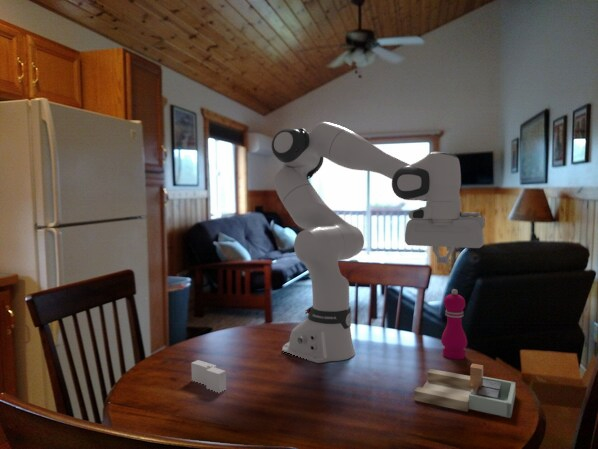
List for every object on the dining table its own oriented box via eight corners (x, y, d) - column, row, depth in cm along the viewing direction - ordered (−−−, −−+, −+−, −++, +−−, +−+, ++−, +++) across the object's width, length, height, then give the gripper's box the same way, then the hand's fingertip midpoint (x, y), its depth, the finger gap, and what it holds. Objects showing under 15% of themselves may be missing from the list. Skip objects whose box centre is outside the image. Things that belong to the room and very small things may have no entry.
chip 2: (477, 406, 95) (477, 393, 95) (479, 399, 99) (479, 386, 99) (496, 411, 93) (497, 397, 93) (498, 403, 97) (499, 390, 97)
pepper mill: (469, 361, 125) (469, 292, 123) (442, 359, 126) (443, 291, 125) (464, 352, 132) (465, 286, 130) (439, 350, 133) (440, 286, 132)
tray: (468, 413, 95) (468, 395, 95) (477, 391, 105) (477, 375, 105) (510, 422, 91) (511, 403, 90) (515, 399, 101) (515, 382, 101)
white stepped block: (184, 379, 116) (183, 358, 116) (227, 374, 119) (226, 353, 119) (185, 404, 102) (184, 381, 101) (234, 398, 105) (233, 374, 104)
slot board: (414, 404, 99) (414, 391, 99) (430, 379, 112) (430, 368, 112) (467, 416, 94) (467, 402, 93) (478, 389, 106) (478, 377, 106)
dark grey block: (480, 398, 99) (480, 385, 99) (482, 391, 103) (482, 379, 103) (499, 402, 97) (499, 389, 97) (501, 395, 101) (501, 382, 101)
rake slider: (467, 403, 96) (467, 372, 96) (474, 388, 104) (474, 358, 104) (479, 405, 95) (479, 374, 95) (484, 390, 103) (485, 360, 102)
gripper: (486, 211, 115) (485, 263, 116) (409, 211, 125) (409, 259, 126) (483, 212, 109) (482, 267, 110) (403, 212, 120) (403, 262, 120)
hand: (443, 263), depth 118 cm, fingers closed
